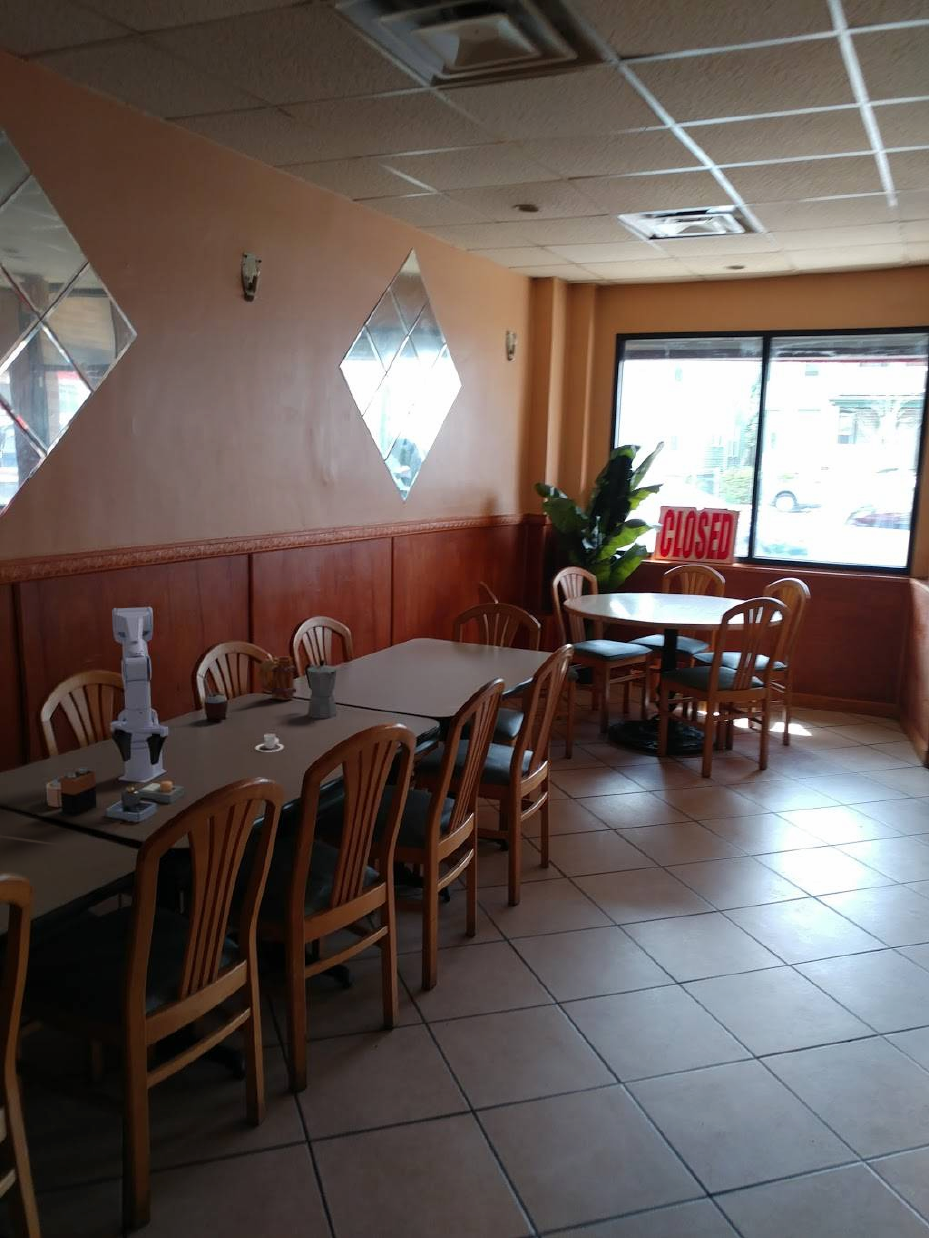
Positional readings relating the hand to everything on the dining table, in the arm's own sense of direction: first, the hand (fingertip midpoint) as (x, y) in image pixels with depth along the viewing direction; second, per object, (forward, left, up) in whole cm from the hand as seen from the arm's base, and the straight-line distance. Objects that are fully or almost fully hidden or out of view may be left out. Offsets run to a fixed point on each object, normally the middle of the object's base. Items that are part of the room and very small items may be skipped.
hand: (140, 762), depth 224 cm
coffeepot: (-82, +10, -10) cm, 83 cm away
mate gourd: (-65, -18, -10) cm, 68 cm away
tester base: (-4, +3, -10) cm, 11 cm away
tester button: (-4, +4, -9) cm, 11 cm away
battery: (+10, -10, -10) cm, 17 cm away
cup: (+7, -17, -10) cm, 21 cm away
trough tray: (+8, +3, -10) cm, 13 cm away
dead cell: (+7, -17, -9) cm, 21 cm away
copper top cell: (+8, +2, -9) cm, 13 cm away
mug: (-92, -10, -10) cm, 93 cm away
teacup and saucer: (-48, +13, -11) cm, 51 cm away
